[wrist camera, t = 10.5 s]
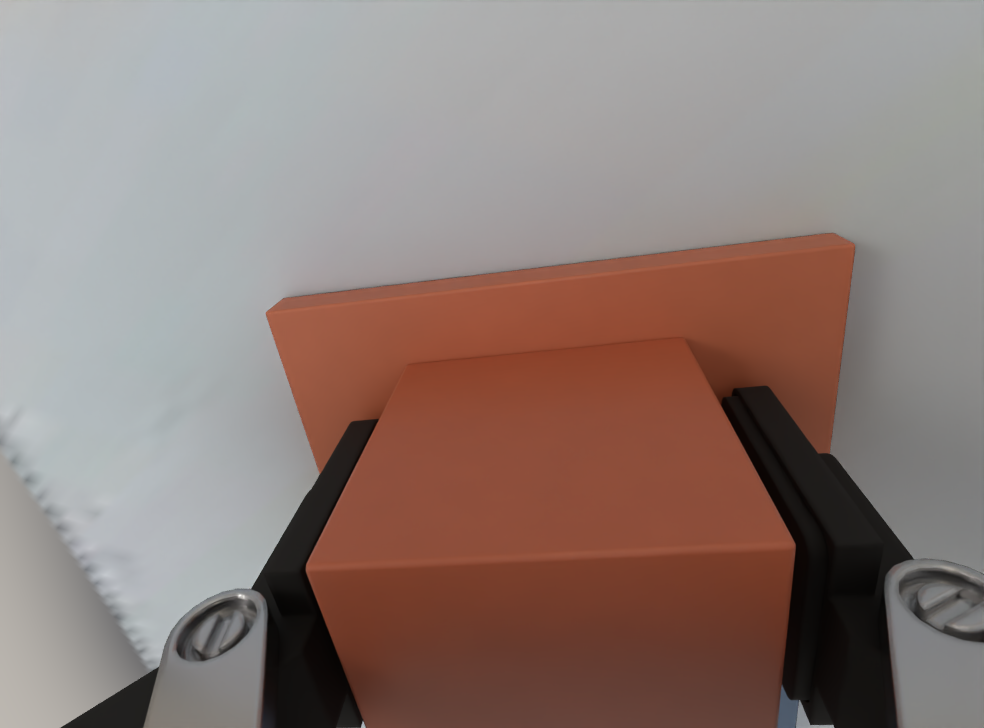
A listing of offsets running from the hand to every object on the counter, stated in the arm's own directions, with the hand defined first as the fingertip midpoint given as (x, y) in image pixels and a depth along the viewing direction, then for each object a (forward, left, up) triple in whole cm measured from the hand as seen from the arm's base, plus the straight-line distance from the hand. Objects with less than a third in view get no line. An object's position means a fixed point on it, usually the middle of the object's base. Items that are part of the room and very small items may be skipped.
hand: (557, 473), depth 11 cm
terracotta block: (0, 0, 0) cm, 0 cm away
